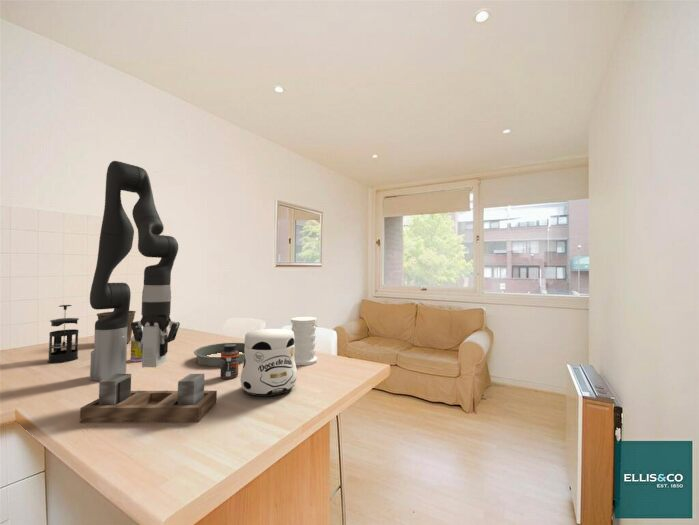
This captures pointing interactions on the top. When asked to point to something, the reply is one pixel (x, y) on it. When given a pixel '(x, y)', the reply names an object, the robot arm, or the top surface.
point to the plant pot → (129, 328)
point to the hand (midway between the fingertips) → (154, 355)
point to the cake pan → (215, 349)
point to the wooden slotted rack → (149, 402)
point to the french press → (69, 353)
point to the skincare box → (151, 347)
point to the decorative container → (304, 340)
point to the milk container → (269, 362)
